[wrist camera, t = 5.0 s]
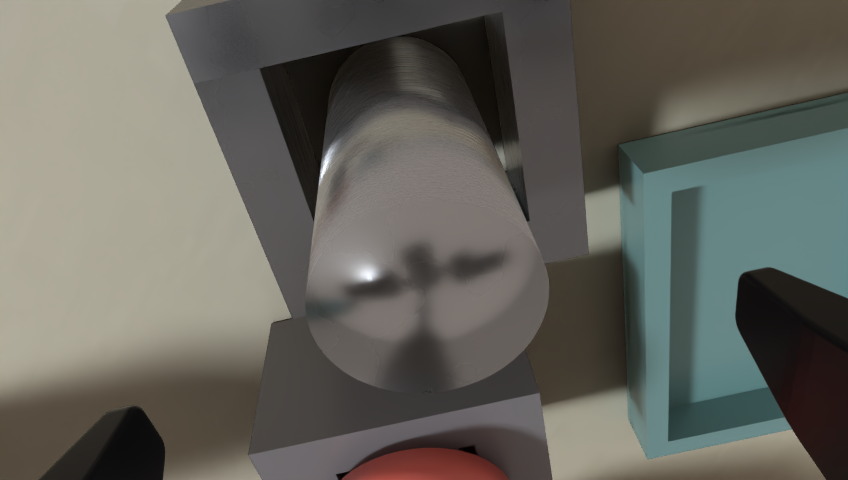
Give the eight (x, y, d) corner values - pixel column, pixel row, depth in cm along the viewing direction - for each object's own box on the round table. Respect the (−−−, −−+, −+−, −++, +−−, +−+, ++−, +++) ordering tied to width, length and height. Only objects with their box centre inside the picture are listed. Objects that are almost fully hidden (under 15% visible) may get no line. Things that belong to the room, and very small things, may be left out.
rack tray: (860, 370, 26) (896, 407, 24) (628, 419, 26) (647, 459, 24) (934, 73, 19) (991, 95, 17) (618, 144, 19) (643, 173, 17)
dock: (523, 411, 25) (561, 540, 20) (329, 452, 25) (323, 589, 21) (499, 273, 21) (539, 393, 17) (271, 323, 22) (248, 455, 17)
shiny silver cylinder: (479, 154, 19) (559, 366, 11) (350, 183, 19) (344, 412, 11) (456, 20, 17) (535, 173, 9) (310, 55, 17) (270, 233, 9)
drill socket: (559, 201, 20) (588, 254, 17) (300, 259, 20) (293, 319, 18) (530, -93, 15) (564, -80, 13) (196, -13, 16) (165, 15, 13)
